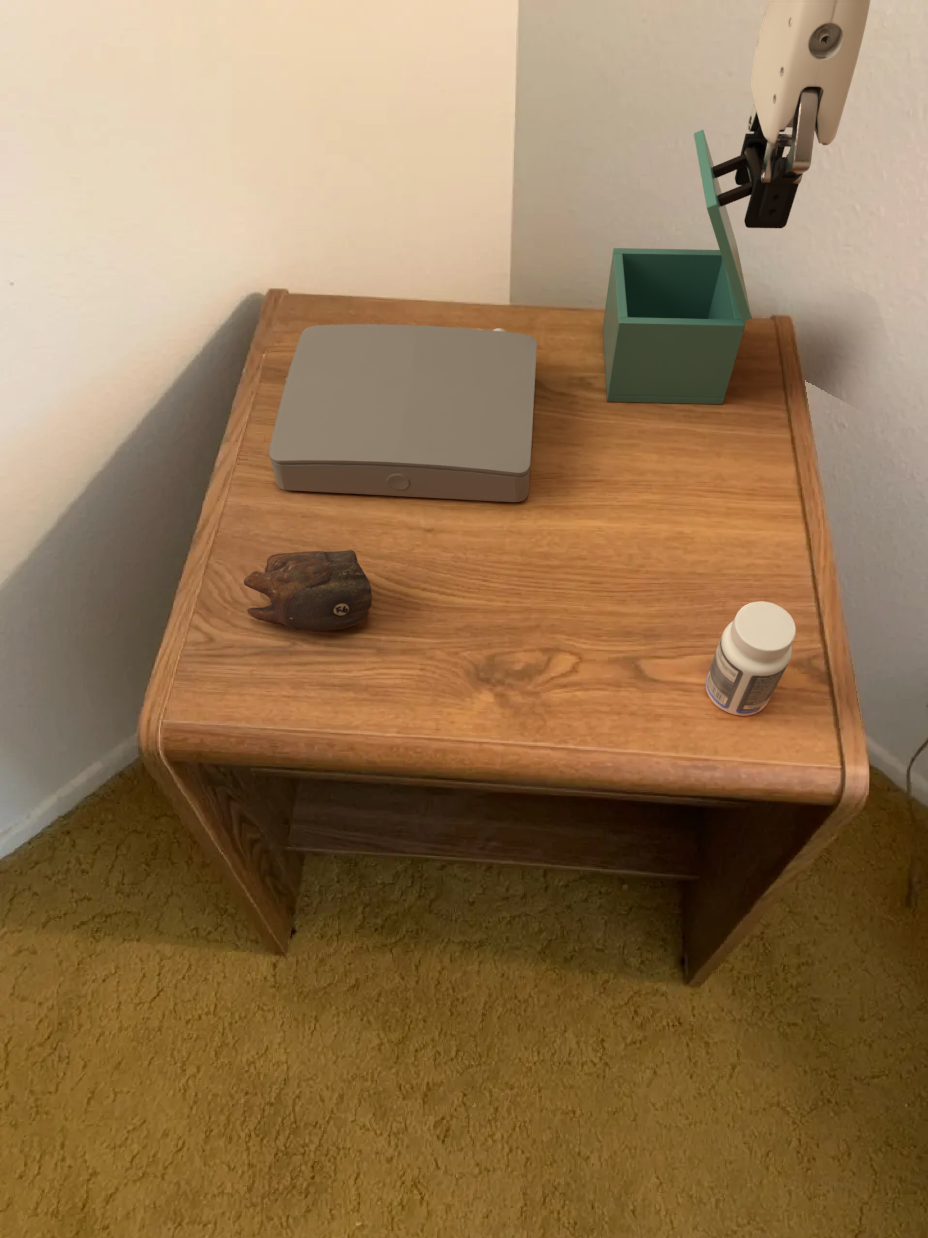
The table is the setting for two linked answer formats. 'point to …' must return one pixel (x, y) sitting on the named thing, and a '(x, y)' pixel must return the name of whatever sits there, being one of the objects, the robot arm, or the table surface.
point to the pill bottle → (751, 658)
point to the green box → (669, 327)
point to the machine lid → (718, 210)
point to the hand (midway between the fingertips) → (759, 201)
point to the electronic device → (407, 412)
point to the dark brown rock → (312, 590)
